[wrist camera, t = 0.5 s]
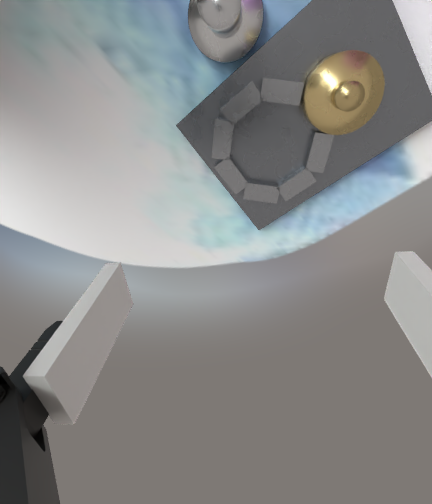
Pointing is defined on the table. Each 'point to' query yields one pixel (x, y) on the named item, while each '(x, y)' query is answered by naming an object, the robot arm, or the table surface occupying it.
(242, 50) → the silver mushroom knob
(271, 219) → the carrier plate
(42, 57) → the table surface
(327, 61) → the gold cymbal
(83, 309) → the robot arm
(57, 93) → the table surface
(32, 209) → the table surface
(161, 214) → the table surface
